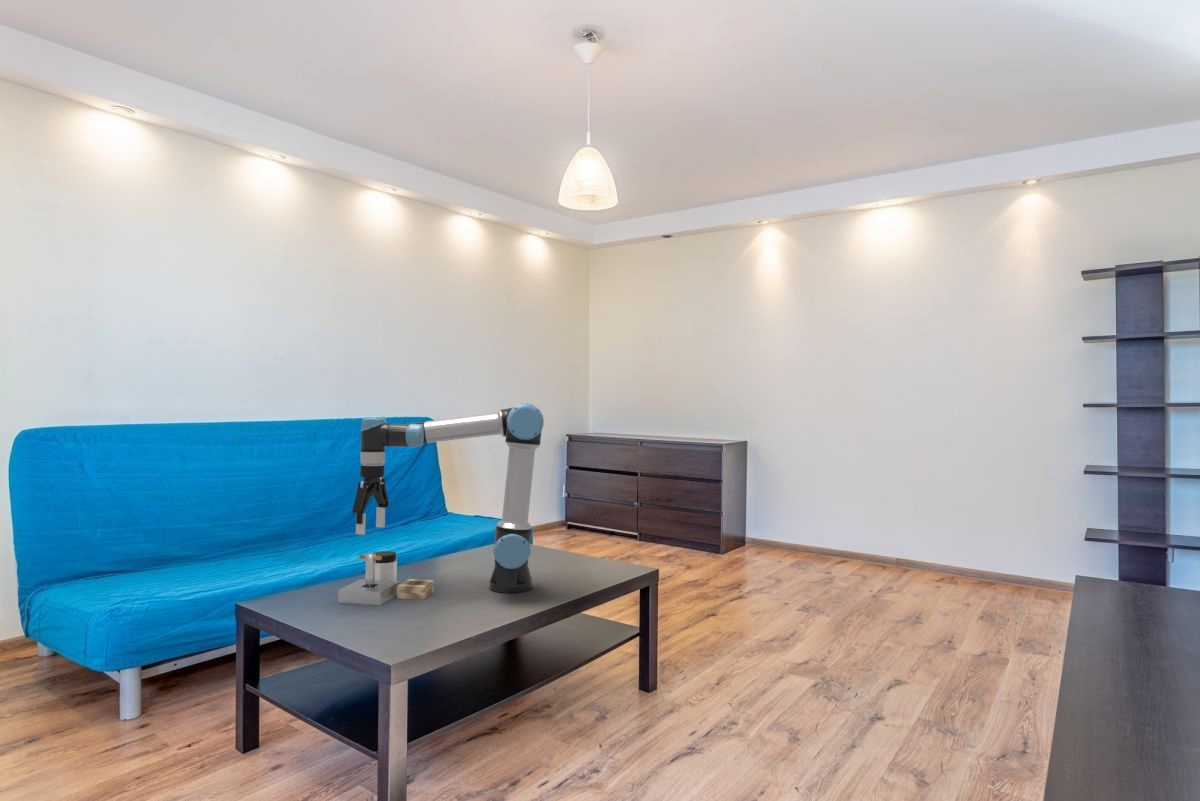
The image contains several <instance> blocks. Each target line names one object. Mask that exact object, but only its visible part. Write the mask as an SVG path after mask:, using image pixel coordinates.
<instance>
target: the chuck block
mask: <svg viewBox="0 0 1200 801" xmlns="http://www.w3.org/2000/svg"><path fill="white" fill-rule="evenodd" d="M399 584H401V581H400V580H397V581H384V580H375V587H373V588H372V587H365V578H363V579H361V578H360V579H358V580H356V581H354V582H352V583H349V584H347V585H346V586H344V587H342V588H339V589H338V592H337V593H338V594H337V595H338V597H337V598H338V600H337V601H338V602H337V603H338V604H348V605H349V604H351V605H364V606H365V605H366V606H367V605H368V606H369V605H370V606H383V604H385V603H387V602H388V601H390V600H392V599H394V598H395V597H397V585H399Z"/></svg>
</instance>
